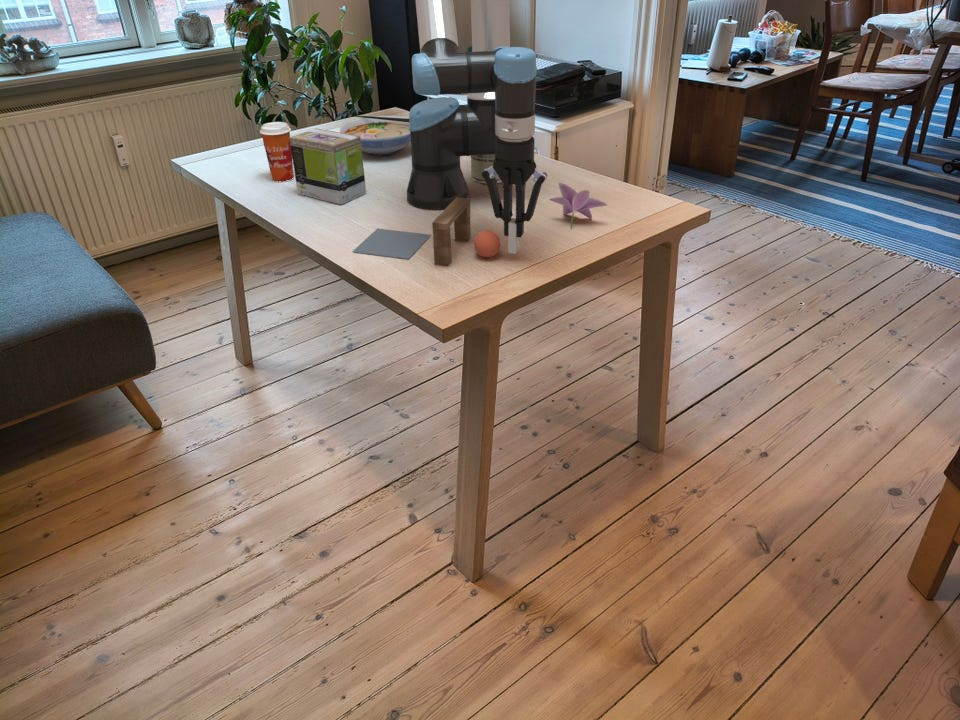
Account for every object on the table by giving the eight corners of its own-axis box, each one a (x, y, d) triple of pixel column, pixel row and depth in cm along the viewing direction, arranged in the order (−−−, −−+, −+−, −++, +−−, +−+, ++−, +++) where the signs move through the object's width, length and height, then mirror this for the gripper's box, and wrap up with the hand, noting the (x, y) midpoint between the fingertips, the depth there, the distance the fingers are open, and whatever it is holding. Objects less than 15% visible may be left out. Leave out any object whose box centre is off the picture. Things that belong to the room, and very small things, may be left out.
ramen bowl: (323, 159, 213) (319, 130, 209) (364, 136, 231) (361, 109, 226) (401, 168, 205) (399, 138, 200) (437, 145, 222) (436, 117, 218)
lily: (610, 232, 169) (614, 189, 169) (577, 225, 161) (580, 180, 160) (570, 234, 178) (573, 193, 177) (536, 227, 170) (539, 184, 169)
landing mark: (377, 229, 170) (377, 228, 170) (431, 235, 166) (431, 234, 166) (352, 252, 160) (352, 251, 159) (408, 259, 156) (408, 258, 156)
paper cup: (265, 183, 196) (256, 130, 189) (271, 174, 203) (262, 121, 195) (295, 183, 197) (287, 129, 189) (300, 173, 203) (292, 120, 195)
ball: (508, 238, 157) (492, 255, 160) (488, 221, 156) (472, 238, 159) (502, 249, 152) (486, 266, 155) (481, 232, 151) (465, 249, 154)
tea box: (367, 193, 189) (361, 134, 181) (340, 206, 182) (333, 145, 174) (324, 183, 196) (316, 126, 188) (296, 194, 189) (287, 136, 181)
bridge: (434, 264, 154) (432, 222, 149) (457, 237, 165) (456, 197, 160) (448, 266, 153) (446, 224, 148) (470, 238, 165) (469, 198, 160)
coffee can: (470, 172, 202) (468, 118, 194) (508, 170, 202) (508, 117, 194) (471, 184, 193) (469, 129, 186) (511, 183, 193) (511, 128, 186)
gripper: (476, 139, 141) (478, 254, 154) (543, 144, 138) (540, 261, 150) (487, 128, 147) (488, 239, 160) (552, 133, 143) (548, 246, 156)
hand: (513, 250), depth 155 cm, fingers closed
